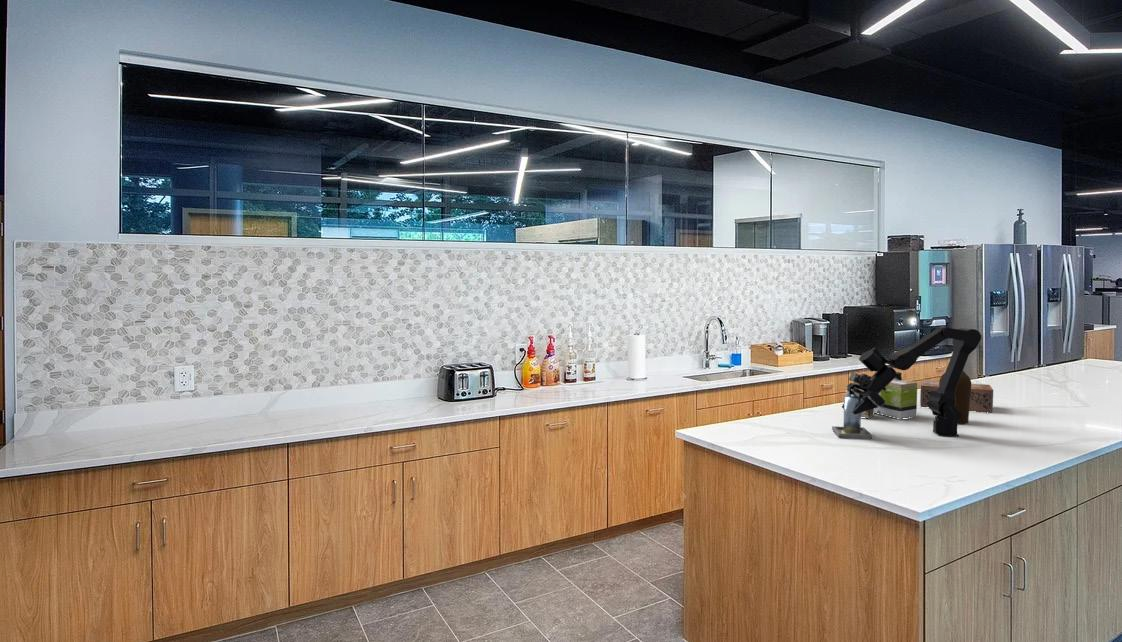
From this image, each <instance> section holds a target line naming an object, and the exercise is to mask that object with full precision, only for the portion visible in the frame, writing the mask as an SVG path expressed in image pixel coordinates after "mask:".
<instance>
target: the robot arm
mask: <svg viewBox="0 0 1122 642" xmlns="http://www.w3.org/2000/svg"><path fill="white" fill-rule="evenodd" d="M947 339H952V347H953V348H952V349H953V351H952V354H951V356H950V359H949V361H948V365H947V367H946V370H945V372H944V373H945V374H944V373H943V374H944V377H943V380H942V382H941V385H940V387H939V388H938V389H937V390H936V391H933V390H931V392H930V396H929V398H928V399H927V400H928V406H929V408H928V409H929V410H930V411H931V412H932V415H933V416H935V417H934V420H933V426H932V432H933V433H934V434H936V435H937V436H939V437H960V435H959V434H958V424H957V421H958V420H960V418H961V416H962V414H961V413H960V412H959V411H958V410H957V409H956V408H955V403H956V398H955V390H956V387H957V385H958V382H959V379H960V377H961V374H962V372H963V371H964V369H965V366H966V363H967V362H968V358H969V356H970V354H972V353H973V352H974V350H976V349H977V348H978V346H979V344H980V343H981V341H982V335H981V333H980V331H979V330H978V329H973V328H968V327H960V328H952V327H949V326H943V325H941V326H938V327H936V328H935V329H934V330H933V331H931V332H929V333H928V334H927V335H925V336H923V337H922V338H921V339H919V340H918V341H916V342H915V343H913V344H911V345H910V346H908V347H905V348H902V349H899V350H896V351H895V352H892V353H890V354H889V355H886V356H883V355H882V353H880V351H879V350H878V349H877V348H876V347H872V348H871V349H869V350H867V351H865V352H863V353H862V354H861V355H860V356H859V359H858V360H859V361H860V363H862V365H864V366H865V367H866V369H868V371H870V372H874V373H873V375H868V374H866V373H861V374H859V373H856V372H853V371H851V373H850V375H849V378H848V380H849V381H851V382H849V384H847V385H846V387H847V389H846V390H848V391H849V392H850V394H854V395H856V396H859V397H861V399H862V401H861V402H860V404H859V405H858V406H857V407H856V409H855V410H854V411H853V413H854V414H855V415H856V414H858V413H861V412H864V411H867V410H871V409H874V408H878V407H882V406H883V405H884V404H885V400H884V399H883V398H882V397H881V396H880V395H879V393H880V392H881V391H882V390H883V391H885V390H886V388H885V387H886V386H887V385H888V384H889V383H890V382H891V381H892V380H893V379H897V380H900V381H901V380H903V378H902V372H899V371H896V370H900V371H907V370H909V369H910V368H911V367H912V366H913V365H914V364H916V362H917V360H918V358H920V357H921V356H922V355H924V354H926V353H927V352H929V351H930V350H931V349H933V348H935V347H936V346H937V345H939V344H941V343H942V342H944V341H945V340H947ZM888 365H889V366H888ZM854 382H856V383H858V384H855V383H854ZM841 408H842V409H843V410H844V403H842V406H841Z"/></svg>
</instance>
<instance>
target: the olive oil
mask: <svg viewBox="0 0 1122 642" xmlns="http://www.w3.org/2000/svg"><path fill="white" fill-rule="evenodd" d="M944 374H945V372H944V373H943V374H941V376H940V378H939V381H938V382H939V387H940V385H941V382H942V380H943V377H944ZM971 384H972V380H971V378H970V376H969V375H968V374H967V373H966V372H965V371H964V370H963V372H962V374H961V377H960V379H959V382H958V385H957V387H956V390H955V398H956V403H955V408H956V409H957V410H958V411H959V412H960V413H961V414H962V416H961V418H960V420H958V421H957V425H967V424H969V418H970V417H969V416H970V414H969V413H970V412H969V405H970V395H971ZM966 423H967V424H966Z"/></svg>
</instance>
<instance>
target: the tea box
mask: <svg viewBox="0 0 1122 642" xmlns="http://www.w3.org/2000/svg"><path fill="white" fill-rule="evenodd" d="M885 388H886V390H885V391H883V390H882V391H881V392H880V393H879V395H880V396H881V397H882V398H883V399H884V400H885V404H884V405H883V406H882V407H878V408H874V413H879V414H883V415H887V416H891V417H895V418H899V419H903V418H909V417H915V418H917V413H918V412H917V411H918V410H917V408H918V406H917V405H918V382H916V381H910V380H905V379H904V380H903V379H902V380H901V381H900V380H897V379H895V378H894V379H893V380H892V381H891V382H890V383H889V384H888V385H887V386H886V387H885ZM883 415H882V416H883Z"/></svg>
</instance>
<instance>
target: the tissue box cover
mask: <svg viewBox="0 0 1122 642" xmlns="http://www.w3.org/2000/svg"><path fill="white" fill-rule="evenodd" d="M938 388H939V381H935V380H921V379H920V388H919V389H920V390H919V391H920V392H919V395H920V396H919V397H920V398H919V404H920V406H921V407H929V406H928V400H927V399H928V398H929V396H930V392H931V390H933V391H936V390H937V389H938ZM921 407H920V408H921ZM993 407H994V389H993V388H992V386H991V385H990V384H983V383H982V384H981V383H971V395H970V405H969V411H976V412H975V413H981V412H986V413H985V414H993V413H994V412H993V411H994V410H993V409H994V408H993ZM987 412H988V413H987Z"/></svg>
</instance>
